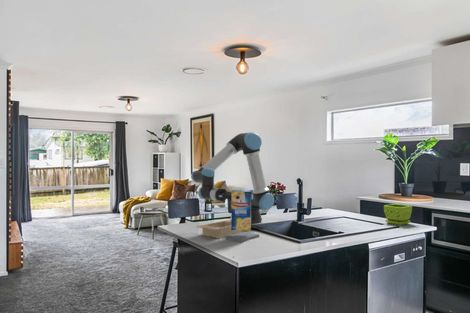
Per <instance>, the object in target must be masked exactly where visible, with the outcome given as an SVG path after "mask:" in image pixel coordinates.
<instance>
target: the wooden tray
mask: <svg viewBox="0 0 470 313" xmlns="http://www.w3.org/2000/svg"><path fill="white" fill-rule="evenodd" d="M196 228H199V229H200V228H201V230H202V236H205V235H206V237H210V236H211V237H212V238H215V237H216V238H215V239H220V240H221V239H226V236H228V235H232V234H236V233H240V232H243V230H231V219H225V220H219V221H216V222H211V223H207V224H206V223H205V224H201V225H197V226H196ZM211 237H210V238H211Z"/></svg>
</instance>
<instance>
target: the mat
mask: <svg viewBox="0 0 470 313" xmlns="http://www.w3.org/2000/svg"><path fill="white" fill-rule="evenodd" d="M257 238H260V234H258V233H254V232H247V231H242V232H240V233H236V234H232V235H228V236H226V237H225V239H226V240H230V241H235V242H239V243H240V242H241V243H243V242H247V241H250V240H254V239H257Z"/></svg>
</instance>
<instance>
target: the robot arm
mask: <svg viewBox="0 0 470 313" xmlns="http://www.w3.org/2000/svg"><path fill="white" fill-rule="evenodd" d="M225 144H226V145H225V146H224V147H223V148H222V149H221V150H219V152H217V153H216V154H215V155H214V156H213V157H212V158H210V159H209V160H208V161H206V163H205V164H203V165H202V166H201V167H200V168H199V169H198V170H194V171H192V172H191V175H190V178H191V180H192V181H193V182H194V183H200V184H201V187H200V188H199V189H198V191H197V194H198V197H199V198H200V199H203V200H209V201H215V202H217V201H219V202H224V201H226V200H231V201H232V192H231V191H227V190H226V188H220V187H219V188H218V187H215V183H214V182H215V171H216V170H217V169H218V168H219V167H221V165H223V164H224V163H225V162H227V160H229V159H230V158H231V157H233V155H236V154H237V153H238V152H241V151H242V154H243V155H244V156H245V157H246V161H247V165H248V170H249V174H250V179H251V182H252V187H253V189H250V190H251V224H259V223H258V222H260V223H262V222H263V218H262V215H261V211H260V210H262V211H269V210H270V209H271V208H273V205H274V204H275V197H274V195H273V194H272V193H270V189H269V187H267V185H266V181H265V180H266V179H265V177H264V171H263V166H262V163H261V158H260V152H261V147H262V138H261V136H260V134H258V133H257V132H244V133H242V132H241V133H239V134H237V135H235V136H234V137H232V138H231V139H230V140H229V141H228V142H227V143H225ZM236 199H239V200H245V195H239V196H236ZM261 221H262V222H261Z"/></svg>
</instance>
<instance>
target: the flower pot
mask: <svg viewBox="0 0 470 313" xmlns="http://www.w3.org/2000/svg"><path fill="white" fill-rule="evenodd" d="M383 212H384V215H385V218H386V219H385V220H384V221H385V222H386V223H388V224H391V225H396V226H402V225H407V224H410V223H411V220H410V218H411V215H412V212H413V206H412V205H407V204H399V203H398V204H397V203H391V204H385V205H383Z"/></svg>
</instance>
